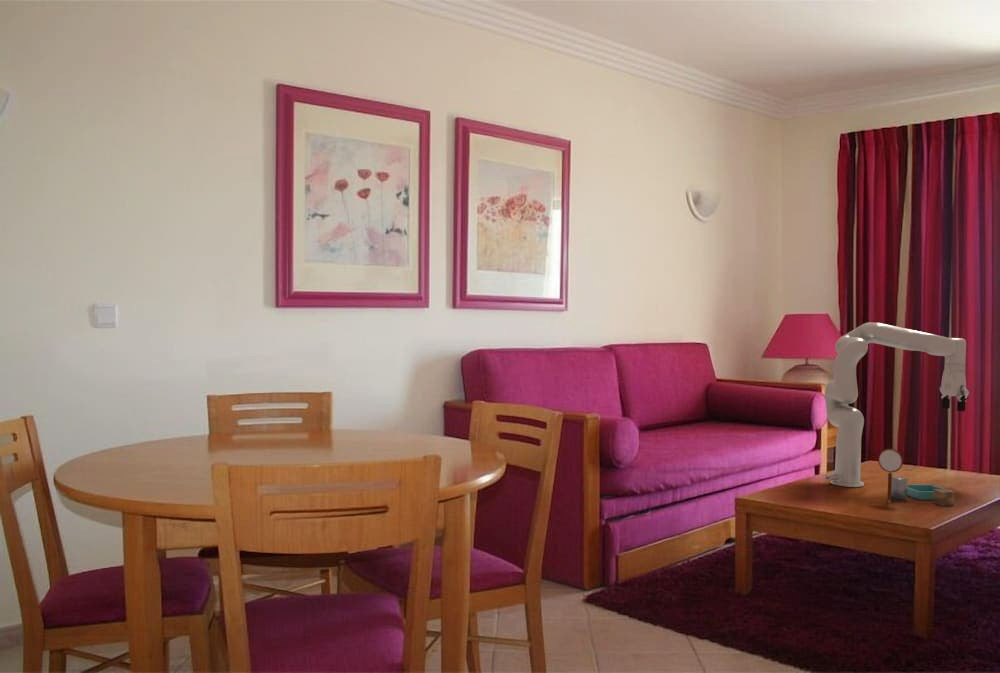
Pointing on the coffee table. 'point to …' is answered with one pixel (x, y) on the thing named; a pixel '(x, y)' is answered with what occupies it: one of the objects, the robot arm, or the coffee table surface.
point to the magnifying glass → (890, 465)
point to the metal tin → (899, 488)
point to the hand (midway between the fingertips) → (953, 409)
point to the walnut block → (943, 497)
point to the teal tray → (922, 491)
